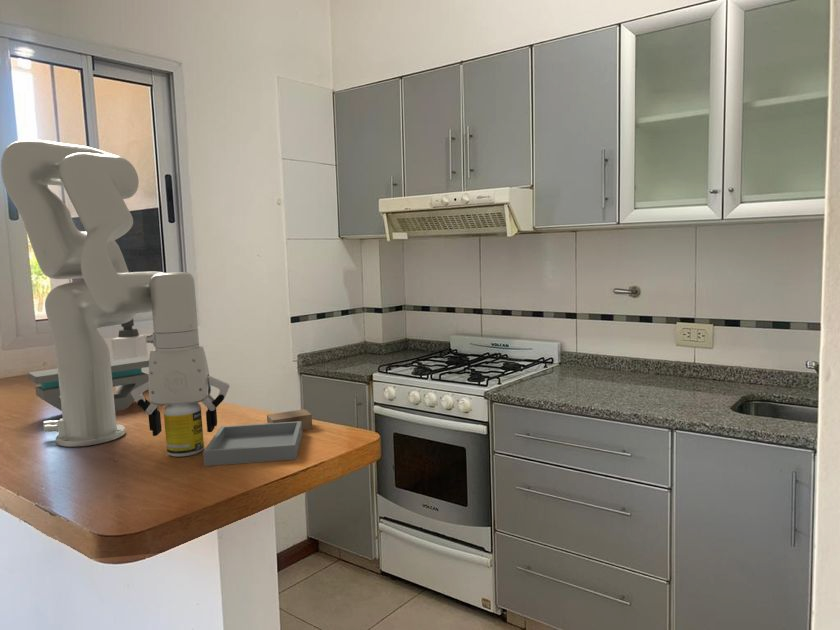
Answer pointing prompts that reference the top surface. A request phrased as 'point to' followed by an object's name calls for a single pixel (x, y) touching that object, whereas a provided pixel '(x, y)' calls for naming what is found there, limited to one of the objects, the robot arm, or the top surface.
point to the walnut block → (292, 418)
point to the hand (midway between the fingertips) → (184, 432)
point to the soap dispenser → (129, 345)
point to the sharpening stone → (123, 375)
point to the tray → (254, 443)
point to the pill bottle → (183, 429)
